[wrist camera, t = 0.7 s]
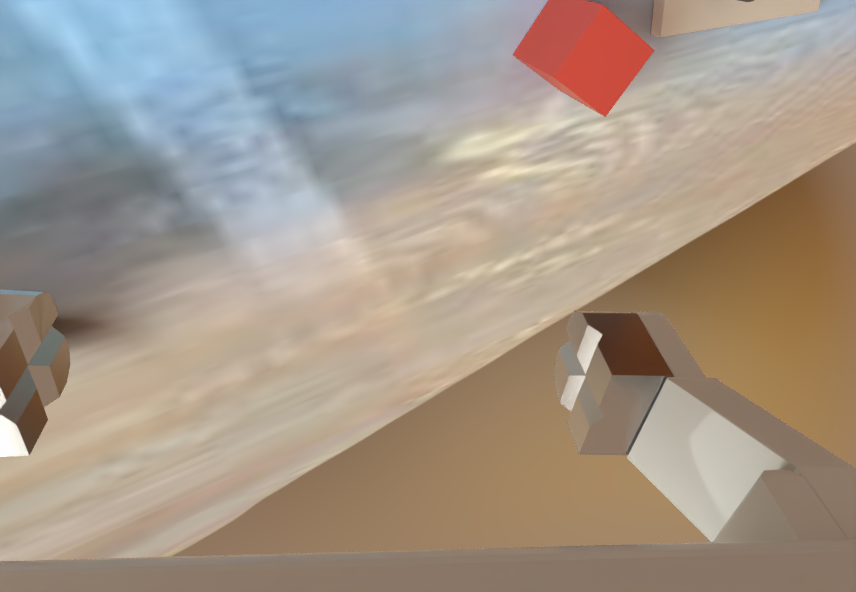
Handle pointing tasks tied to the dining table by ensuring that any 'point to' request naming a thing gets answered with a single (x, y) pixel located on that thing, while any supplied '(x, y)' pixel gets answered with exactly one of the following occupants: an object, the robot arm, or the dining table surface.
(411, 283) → the dining table surface
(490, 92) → the dining table surface
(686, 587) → the robot arm
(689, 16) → the breaker board
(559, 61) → the red rectangular block
